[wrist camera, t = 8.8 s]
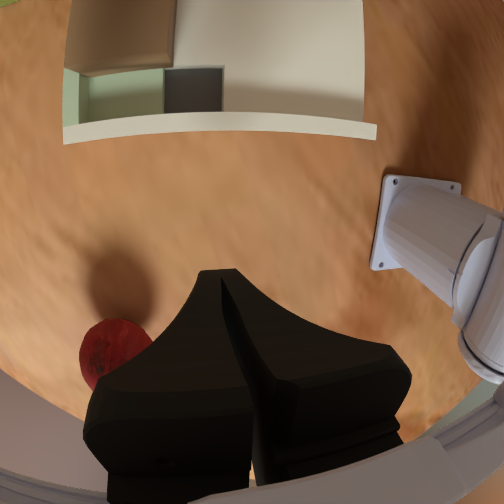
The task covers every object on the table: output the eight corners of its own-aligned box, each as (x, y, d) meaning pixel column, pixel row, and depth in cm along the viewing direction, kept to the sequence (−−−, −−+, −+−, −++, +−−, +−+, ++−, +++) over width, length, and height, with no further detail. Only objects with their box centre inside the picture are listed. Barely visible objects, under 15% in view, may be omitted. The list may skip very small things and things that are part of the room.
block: (178, -5, 12) (174, -34, 8) (173, 67, 14) (166, 51, 10) (97, 6, 11) (76, -18, 8) (90, 77, 13) (63, 67, 10)
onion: (81, 302, 20) (49, 376, 13) (149, 293, 21) (135, 371, 14) (106, 357, 23) (91, 431, 16) (168, 350, 24) (167, 429, 16)
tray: (350, -20, 14) (371, -35, 11) (351, 136, 19) (375, 140, 16) (96, -29, 11) (84, -49, 8) (82, 140, 16) (63, 144, 13)
